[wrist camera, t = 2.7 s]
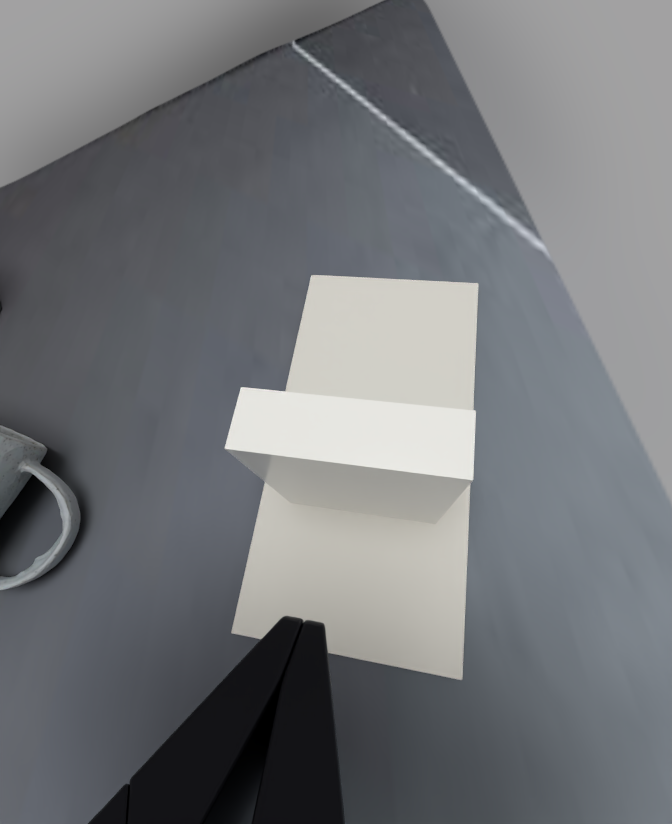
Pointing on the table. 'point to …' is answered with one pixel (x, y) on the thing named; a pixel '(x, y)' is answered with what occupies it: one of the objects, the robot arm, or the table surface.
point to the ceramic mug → (7, 475)
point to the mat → (363, 533)
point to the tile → (355, 452)
